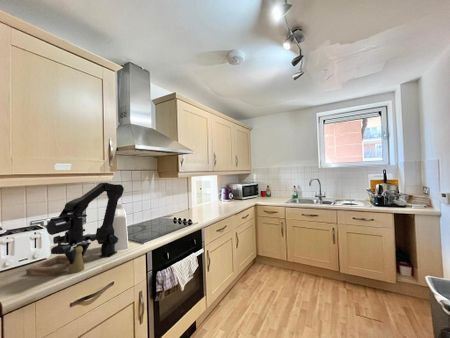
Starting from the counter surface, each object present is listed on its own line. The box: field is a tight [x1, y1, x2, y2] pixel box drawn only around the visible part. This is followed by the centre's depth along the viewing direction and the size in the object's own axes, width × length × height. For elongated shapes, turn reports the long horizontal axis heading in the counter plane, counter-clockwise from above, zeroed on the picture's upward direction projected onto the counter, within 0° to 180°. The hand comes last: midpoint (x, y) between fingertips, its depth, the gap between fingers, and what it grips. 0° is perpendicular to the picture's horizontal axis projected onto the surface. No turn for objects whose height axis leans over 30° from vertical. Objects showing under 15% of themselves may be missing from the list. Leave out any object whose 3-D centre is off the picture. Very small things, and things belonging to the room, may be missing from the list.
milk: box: [113, 203, 129, 251], centre depth 122 cm, size 12×12×26 cm
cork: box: [67, 246, 85, 275], centre depth 93 cm, size 6×6×11 cm
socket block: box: [25, 255, 84, 277], centre depth 97 cm, size 15×15×2 cm
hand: (76, 261), depth 93 cm, fingers closed on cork, 4 cm apart
